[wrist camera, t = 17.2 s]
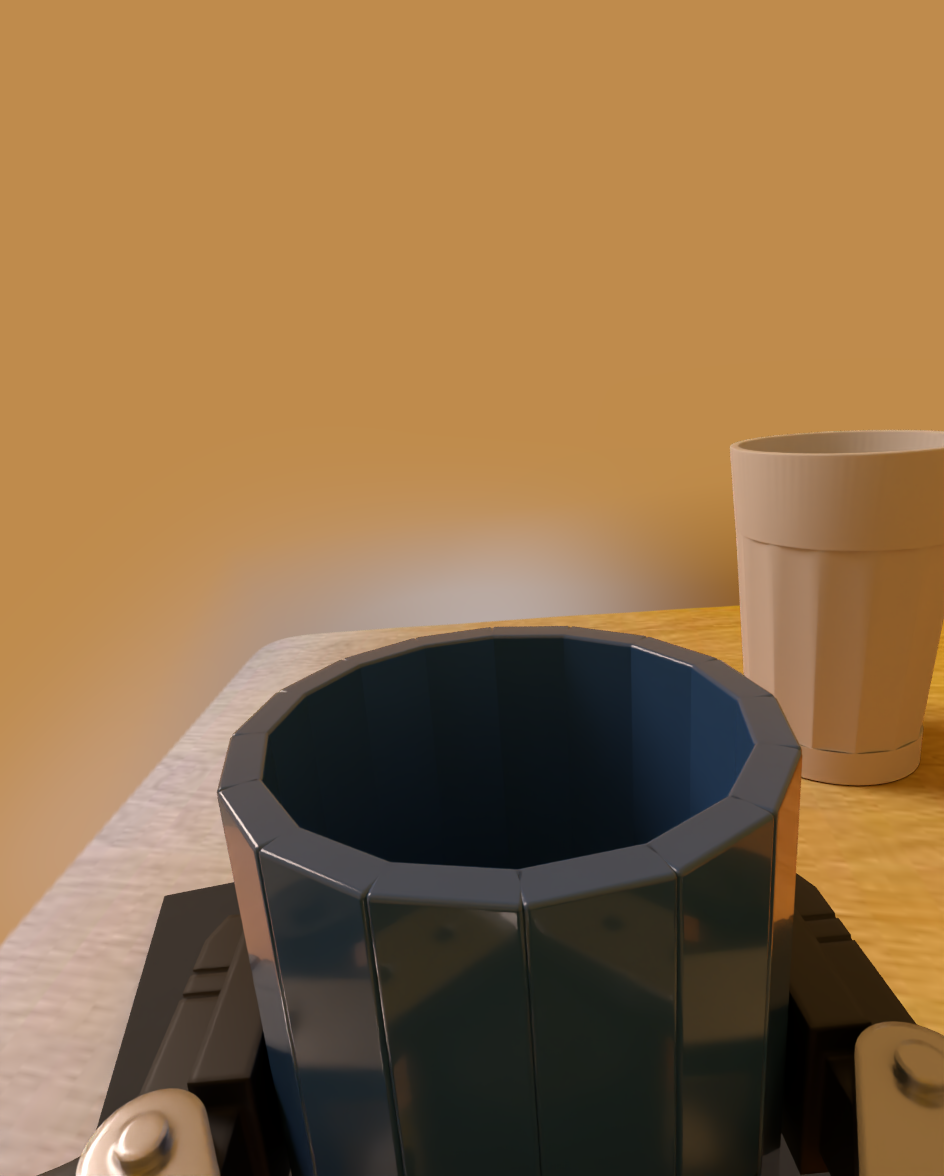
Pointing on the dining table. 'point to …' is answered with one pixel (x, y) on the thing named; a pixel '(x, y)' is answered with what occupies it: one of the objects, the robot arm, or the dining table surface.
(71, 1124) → the dining table surface
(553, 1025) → the tumbler
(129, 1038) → the mat
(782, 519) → the cup
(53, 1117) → the dining table surface
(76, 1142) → the dining table surface
